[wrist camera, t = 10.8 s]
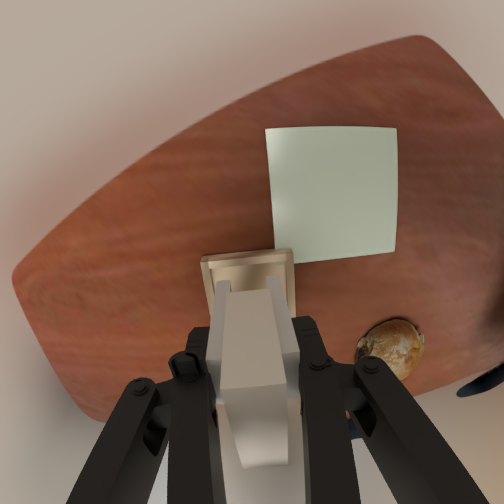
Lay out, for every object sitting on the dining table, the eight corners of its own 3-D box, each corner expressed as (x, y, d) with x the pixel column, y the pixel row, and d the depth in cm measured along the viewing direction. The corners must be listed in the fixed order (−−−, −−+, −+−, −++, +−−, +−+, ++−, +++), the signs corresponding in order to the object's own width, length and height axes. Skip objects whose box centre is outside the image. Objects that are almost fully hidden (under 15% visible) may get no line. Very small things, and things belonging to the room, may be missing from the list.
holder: (290, 246, 31) (293, 252, 29) (293, 319, 34) (295, 328, 33) (202, 256, 31) (200, 262, 29) (215, 327, 34) (214, 336, 32)
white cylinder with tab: (304, 401, 21) (333, 534, 10) (221, 409, 21) (217, 544, 10) (306, 258, 16) (396, 445, 5) (187, 270, 16) (123, 467, 5)
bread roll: (366, 303, 38) (362, 336, 31) (431, 314, 35) (439, 348, 28) (352, 356, 42) (344, 391, 35) (411, 366, 38) (412, 402, 31)
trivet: (393, 128, 26) (396, 128, 26) (392, 249, 31) (394, 251, 31) (264, 129, 26) (265, 129, 26) (275, 263, 31) (276, 265, 31)
